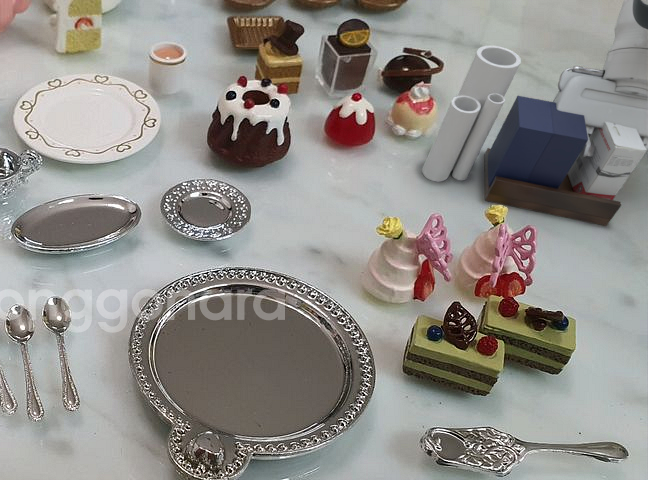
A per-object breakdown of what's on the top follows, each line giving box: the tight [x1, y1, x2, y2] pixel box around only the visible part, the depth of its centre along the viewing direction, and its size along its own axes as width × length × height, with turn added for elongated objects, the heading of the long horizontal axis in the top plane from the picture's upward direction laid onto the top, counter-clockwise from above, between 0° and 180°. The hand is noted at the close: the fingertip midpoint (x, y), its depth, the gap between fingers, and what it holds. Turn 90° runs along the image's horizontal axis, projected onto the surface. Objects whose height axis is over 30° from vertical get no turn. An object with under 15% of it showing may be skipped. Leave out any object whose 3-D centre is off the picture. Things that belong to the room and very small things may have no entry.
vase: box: [421, 44, 522, 183], centre depth 124 cm, size 11×7×20 cm, turn 146°
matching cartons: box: [488, 95, 588, 189], centre depth 123 cm, size 10×9×12 cm
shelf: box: [483, 147, 622, 227], centre depth 127 cm, size 19×13×4 cm
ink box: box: [567, 122, 648, 200], centre depth 121 cm, size 9×5×12 cm, turn 170°
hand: (607, 161), depth 121 cm, fingers closed on ink box, 5 cm apart
